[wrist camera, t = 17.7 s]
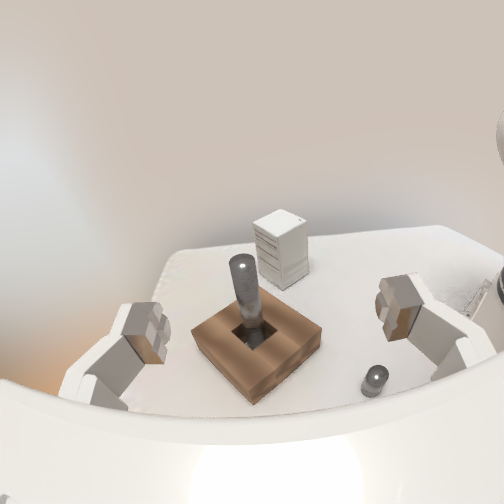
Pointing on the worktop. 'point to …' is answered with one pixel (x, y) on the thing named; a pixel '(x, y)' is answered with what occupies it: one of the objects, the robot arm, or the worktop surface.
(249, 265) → the long pin
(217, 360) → the collar block
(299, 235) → the supplement box
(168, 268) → the worktop surface
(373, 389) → the short pin
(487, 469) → the robot arm
